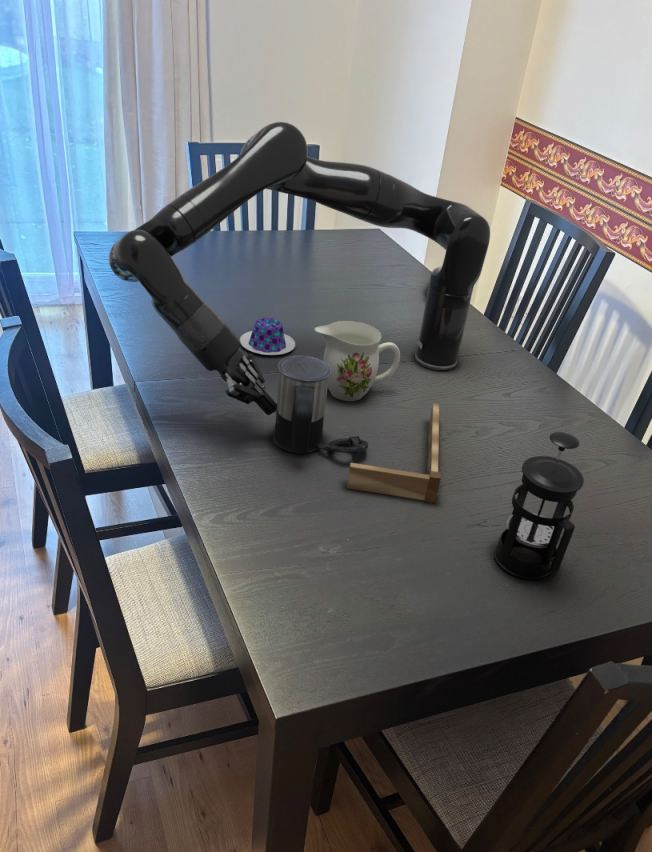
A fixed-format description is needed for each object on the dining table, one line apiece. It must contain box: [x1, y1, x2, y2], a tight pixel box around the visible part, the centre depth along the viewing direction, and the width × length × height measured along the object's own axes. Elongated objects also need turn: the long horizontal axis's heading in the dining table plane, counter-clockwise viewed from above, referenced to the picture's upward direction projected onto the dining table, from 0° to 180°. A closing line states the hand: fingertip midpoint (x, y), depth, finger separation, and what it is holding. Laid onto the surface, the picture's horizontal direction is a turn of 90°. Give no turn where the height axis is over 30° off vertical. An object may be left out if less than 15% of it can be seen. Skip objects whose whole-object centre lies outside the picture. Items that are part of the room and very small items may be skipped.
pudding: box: [239, 317, 296, 356], centre depth 169 cm, size 12×12×5 cm
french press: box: [493, 431, 585, 582], centre depth 116 cm, size 12×9×23 cm
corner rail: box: [346, 403, 442, 504], centre depth 141 cm, size 26×15×5 cm, turn 174°
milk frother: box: [272, 354, 369, 455], centre depth 138 cm, size 14×16×15 cm
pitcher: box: [313, 320, 401, 402], centre depth 155 cm, size 11×18×14 cm, turn 103°
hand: (273, 411), depth 139 cm, fingers closed
